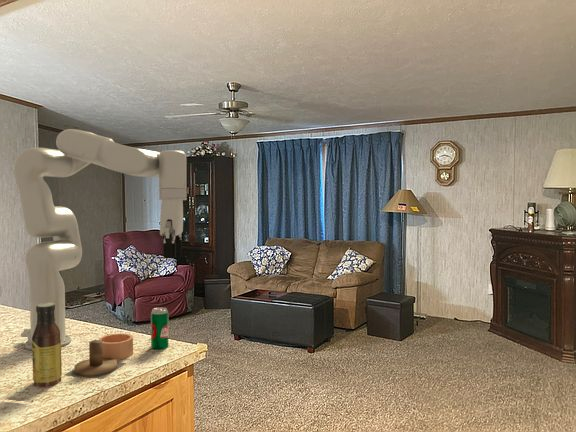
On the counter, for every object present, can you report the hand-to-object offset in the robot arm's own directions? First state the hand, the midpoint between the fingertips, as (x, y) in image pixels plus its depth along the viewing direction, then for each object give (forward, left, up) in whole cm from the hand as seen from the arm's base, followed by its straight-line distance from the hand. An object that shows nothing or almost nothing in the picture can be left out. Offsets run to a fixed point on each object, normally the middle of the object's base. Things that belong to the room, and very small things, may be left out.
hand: (173, 255), depth 131 cm
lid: (-15, -14, -29) cm, 35 cm away
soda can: (-7, +6, -29) cm, 31 cm away
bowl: (-16, -3, -29) cm, 34 cm away
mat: (-15, -14, -29) cm, 36 cm away
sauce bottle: (-22, -24, -29) cm, 44 cm away
